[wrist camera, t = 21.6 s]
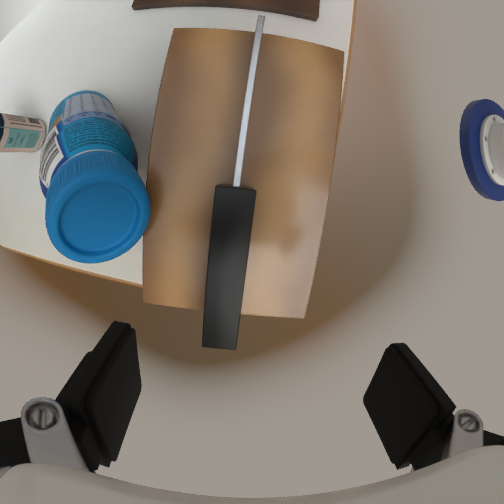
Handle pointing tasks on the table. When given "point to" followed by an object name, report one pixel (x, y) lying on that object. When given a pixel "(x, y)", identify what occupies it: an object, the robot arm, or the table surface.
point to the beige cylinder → (20, 133)
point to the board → (243, 5)
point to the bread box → (254, 164)
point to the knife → (230, 237)
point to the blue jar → (91, 181)
